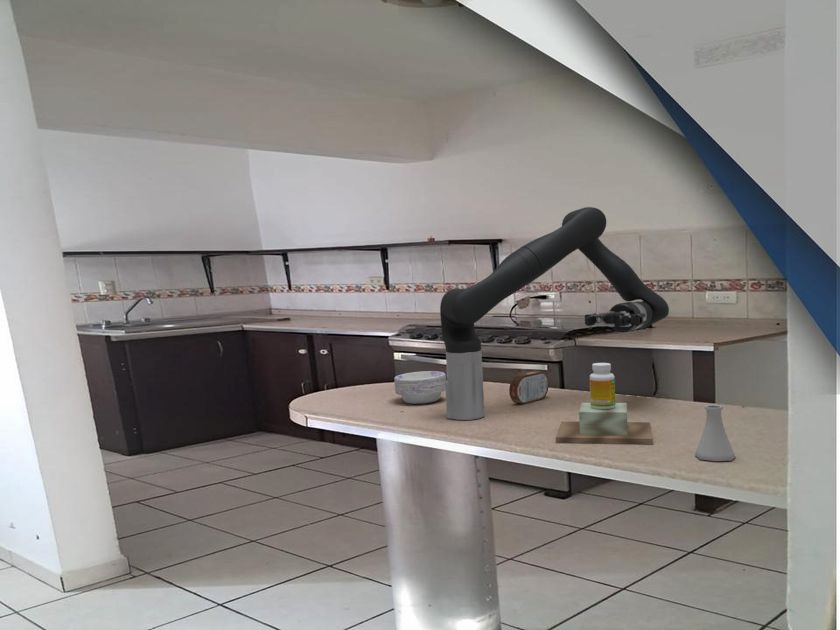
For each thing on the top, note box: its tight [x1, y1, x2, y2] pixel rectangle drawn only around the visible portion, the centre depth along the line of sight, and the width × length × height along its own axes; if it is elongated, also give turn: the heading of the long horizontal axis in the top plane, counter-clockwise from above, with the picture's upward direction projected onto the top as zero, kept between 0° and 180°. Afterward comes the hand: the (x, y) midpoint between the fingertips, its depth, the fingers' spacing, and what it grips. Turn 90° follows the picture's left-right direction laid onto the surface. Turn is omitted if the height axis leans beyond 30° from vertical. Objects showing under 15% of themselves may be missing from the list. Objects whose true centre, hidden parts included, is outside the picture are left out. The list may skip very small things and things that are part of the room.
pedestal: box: [555, 402, 654, 445], centre depth 156 cm, size 20×15×6 cm
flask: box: [694, 404, 736, 462], centre depth 135 cm, size 7×7×10 cm
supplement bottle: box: [589, 362, 617, 409], centre depth 156 cm, size 5×5×10 cm
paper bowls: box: [393, 370, 447, 405], centre depth 206 cm, size 15×15×8 cm
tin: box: [508, 369, 549, 405], centre depth 197 cm, size 15×3×8 cm, turn 133°
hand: (603, 321), depth 172 cm, fingers open, 8 cm apart
